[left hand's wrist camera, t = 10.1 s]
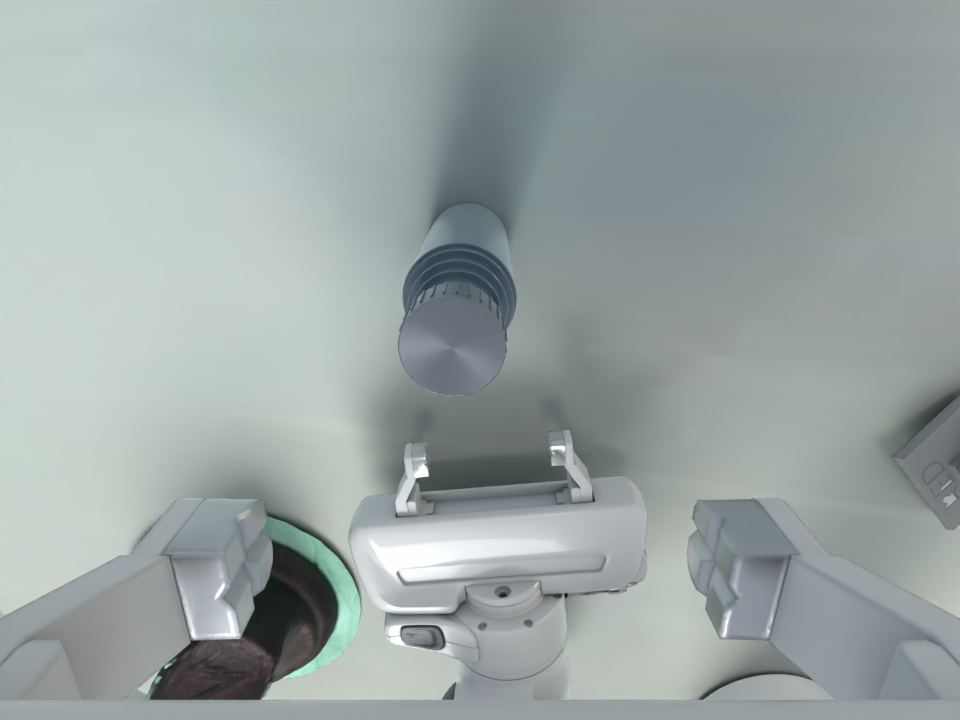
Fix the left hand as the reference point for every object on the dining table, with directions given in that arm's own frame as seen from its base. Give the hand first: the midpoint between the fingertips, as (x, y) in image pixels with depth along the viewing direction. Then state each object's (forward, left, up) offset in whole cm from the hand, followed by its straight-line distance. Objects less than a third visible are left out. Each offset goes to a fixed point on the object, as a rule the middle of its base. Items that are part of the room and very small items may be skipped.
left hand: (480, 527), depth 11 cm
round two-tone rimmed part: (+38, -6, -29) cm, 48 cm away
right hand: (+11, +5, -23) cm, 26 cm away
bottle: (+1, -1, -29) cm, 29 cm away
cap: (+1, -1, -11) cm, 11 cm away
